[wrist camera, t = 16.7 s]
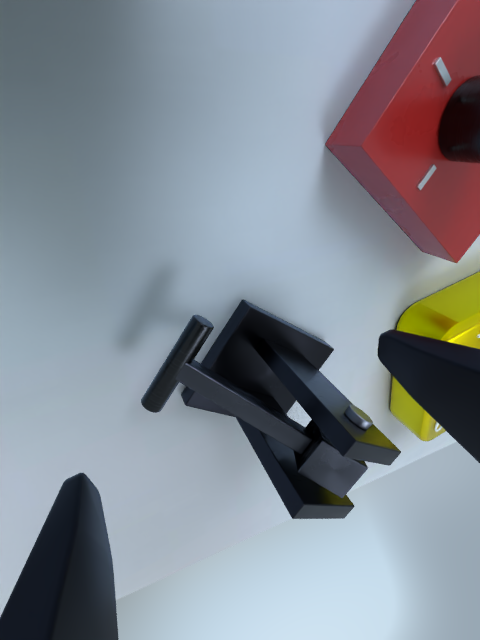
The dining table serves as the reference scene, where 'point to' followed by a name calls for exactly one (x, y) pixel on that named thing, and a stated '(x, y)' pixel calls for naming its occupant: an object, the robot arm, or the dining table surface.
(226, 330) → the lever bracket
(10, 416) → the dining table surface
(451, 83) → the dial panel
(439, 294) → the element tile
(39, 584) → the robot arm
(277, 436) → the black lever handle
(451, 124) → the knob
